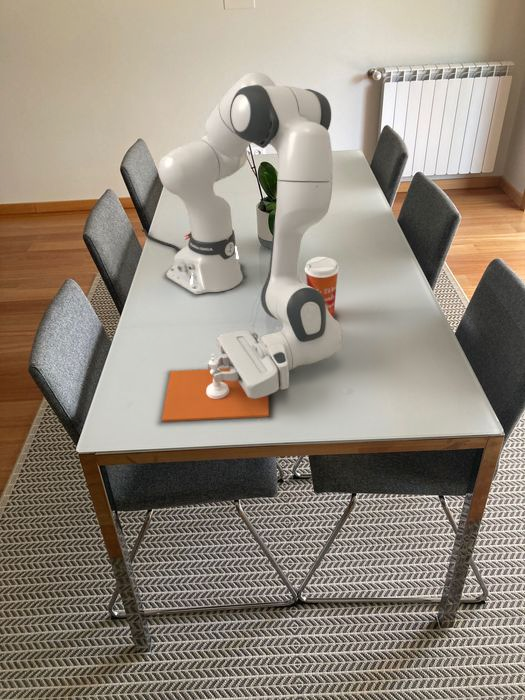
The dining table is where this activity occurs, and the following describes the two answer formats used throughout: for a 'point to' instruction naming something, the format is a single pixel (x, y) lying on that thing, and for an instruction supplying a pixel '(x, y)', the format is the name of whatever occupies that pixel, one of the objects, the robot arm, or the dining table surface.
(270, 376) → the robot arm
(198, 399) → the cloth mat
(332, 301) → the coffee cup
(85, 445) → the dining table surface
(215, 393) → the chess piece
